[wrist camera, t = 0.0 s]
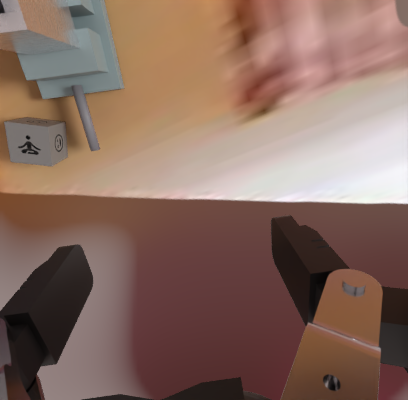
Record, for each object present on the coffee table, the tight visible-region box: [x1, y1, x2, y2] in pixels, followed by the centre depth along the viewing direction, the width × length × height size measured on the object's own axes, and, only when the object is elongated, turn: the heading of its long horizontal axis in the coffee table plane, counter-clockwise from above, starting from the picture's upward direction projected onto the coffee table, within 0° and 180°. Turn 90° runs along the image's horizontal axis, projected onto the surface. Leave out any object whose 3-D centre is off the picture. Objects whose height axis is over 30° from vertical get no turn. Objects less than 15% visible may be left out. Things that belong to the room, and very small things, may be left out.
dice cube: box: [4, 117, 68, 166], centre depth 35 cm, size 5×5×5 cm
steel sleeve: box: [0, 0, 80, 55], centre depth 22 cm, size 5×5×10 cm
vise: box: [0, 0, 124, 151], centre depth 25 cm, size 21×10×19 cm, turn 7°
